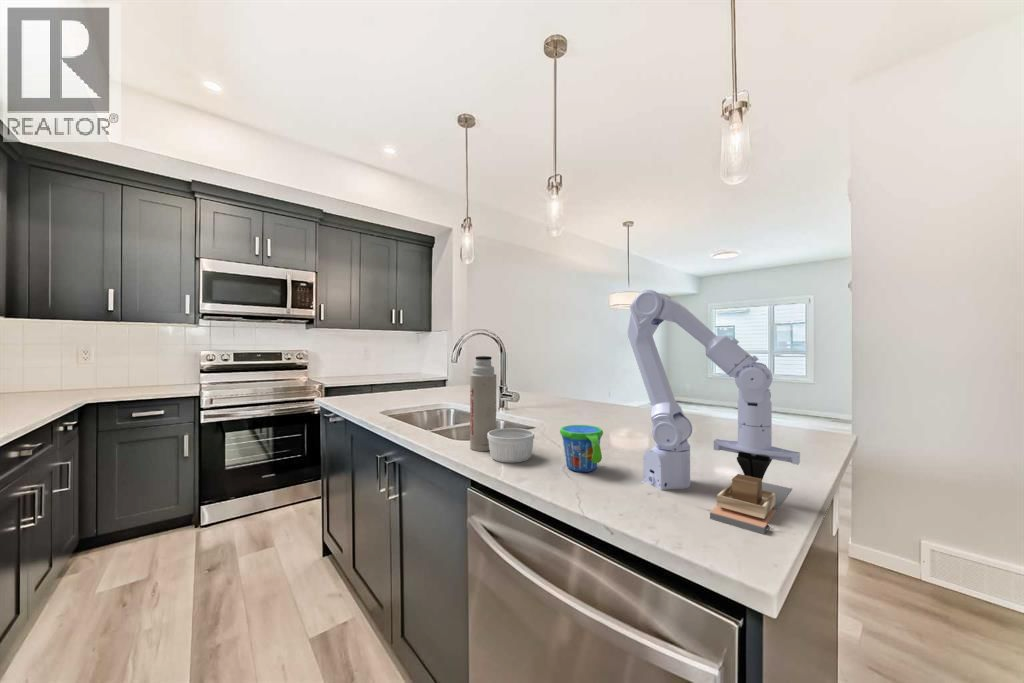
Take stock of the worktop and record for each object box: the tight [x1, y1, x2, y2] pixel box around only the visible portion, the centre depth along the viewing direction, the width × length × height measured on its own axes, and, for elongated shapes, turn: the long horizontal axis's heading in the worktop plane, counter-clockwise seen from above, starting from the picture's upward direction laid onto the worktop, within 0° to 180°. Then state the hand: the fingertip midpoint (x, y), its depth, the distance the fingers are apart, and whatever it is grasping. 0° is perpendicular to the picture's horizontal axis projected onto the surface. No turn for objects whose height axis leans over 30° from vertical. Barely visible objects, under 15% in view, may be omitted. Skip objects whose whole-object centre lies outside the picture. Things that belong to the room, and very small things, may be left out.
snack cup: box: [559, 424, 604, 473], centre depth 100 cm, size 16×10×10 cm
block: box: [731, 473, 763, 505], centre depth 74 cm, size 4×4×4 cm
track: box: [709, 481, 793, 535], centre depth 78 cm, size 25×8×1 cm, turn 135°
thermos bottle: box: [469, 355, 497, 452], centre depth 120 cm, size 8×8×28 cm
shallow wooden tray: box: [716, 482, 776, 519], centre depth 74 cm, size 9×8×2 cm
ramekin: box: [487, 427, 535, 464], centre depth 110 cm, size 13×13×7 cm
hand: (754, 492), depth 78 cm, fingers closed, pressing on shallow wooden tray
